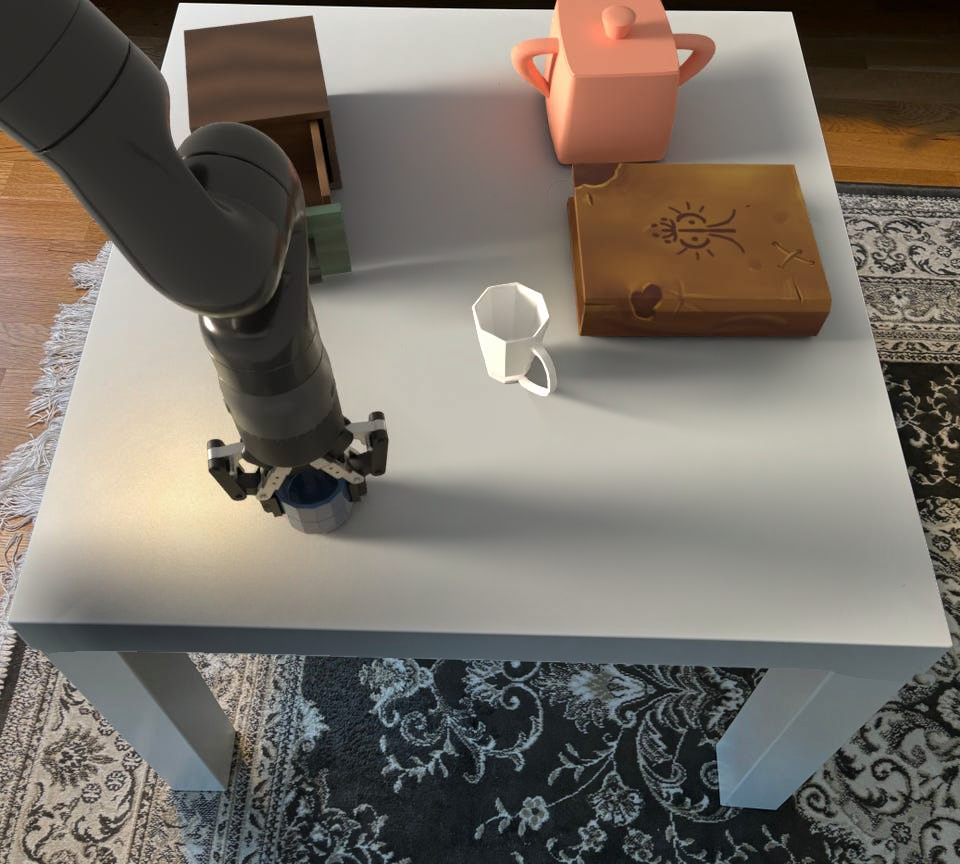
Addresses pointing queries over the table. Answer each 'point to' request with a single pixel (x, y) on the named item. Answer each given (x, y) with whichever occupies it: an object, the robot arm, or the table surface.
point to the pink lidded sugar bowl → (611, 78)
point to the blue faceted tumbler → (314, 501)
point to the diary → (694, 251)
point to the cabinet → (260, 78)
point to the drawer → (314, 198)
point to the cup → (514, 334)
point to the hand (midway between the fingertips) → (316, 499)
